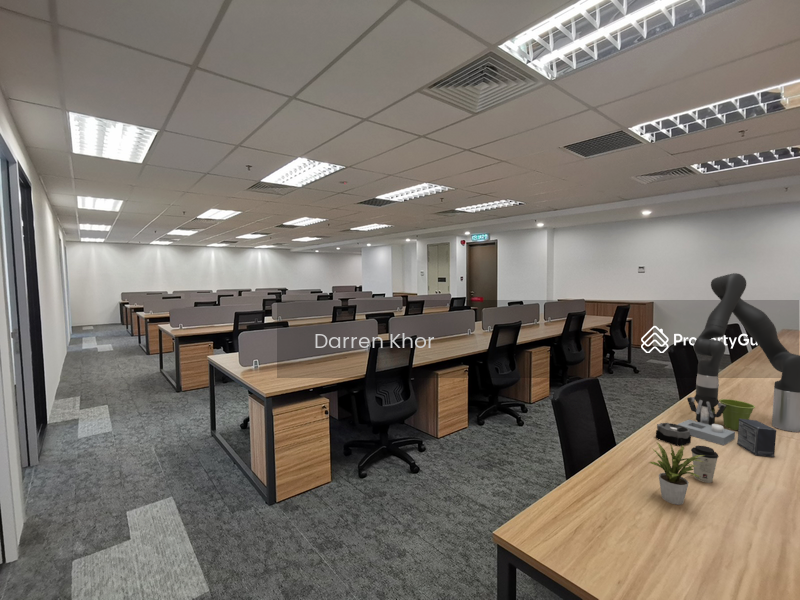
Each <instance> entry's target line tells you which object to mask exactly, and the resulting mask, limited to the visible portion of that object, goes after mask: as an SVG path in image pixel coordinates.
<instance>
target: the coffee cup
mask: <svg viewBox="0 0 800 600" xmlns="http://www.w3.org/2000/svg"><path fill="white" fill-rule="evenodd" d="M690 451H691V454H692V455H691V457H693V456H697V455H705V456H699V457H697V458H701V459H695V460H700V461H703V462H700V461H692V465H695V466H694V467H692V469H694V470H693V473H695V474H696V475H699V478H698V477H697V476H695V475H693V477H694V479H695V480H697V481H699V482H703V483H709V484H710V483H713V480H714V476H715V475H714V474H715V471H716V467H717V462H718V458H719V455H718V453H717V452H716V451H715V449H714V448H712V447H710V446H707V445H696V446H694V447H692V448H691V450H690ZM700 476H701V477H700Z"/></svg>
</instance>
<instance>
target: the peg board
mask: <svg viewBox="0 0 800 600" xmlns="http://www.w3.org/2000/svg"><path fill="white" fill-rule="evenodd" d="M676 424H677V425H680V426H684V427H686V428H687V429H689V430H690V435H691V437H693V438H697V439H699V440H703V441H707V442H710V443H714V444H717V445H721V446H725V445H727V444H729V443H730V442H732V441H734V440H735V439H736V437H735V436H736V431H735V430H731V429H728V428H724V425H721V424H718V423H714V424H712V425H708V424H704V423H700V422H697V421H696V420H693V419H687V420H684V421H682V422H679V423H676Z"/></svg>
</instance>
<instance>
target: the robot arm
mask: <svg viewBox="0 0 800 600" xmlns="http://www.w3.org/2000/svg"><path fill="white" fill-rule="evenodd" d="M710 287H711V290H712V292H713V293H714V295H716V296H717V298H718V299H719V300H720V302H718V304H717V305H716V306H715V308H714V309H712V311H711V312H710V313H709V315H708V318H707V320H706V323H705V327H704V329H703V331H702V332H701V333H700V334H699V335H698V337H697V338H696V339H695V341H694V343H693V350H694V352H695V353H696V354H697V355H700V356H701V355H702V356H709V357H711V358H710V359H709V360H706V359H705V360H700V361H698V364H697V373H696V375H697V376H696V382H695V383H696V384H695V396H694V397H692V396H689V397H687V399H686V400H687V402H688V403H687V404H688V406H689V409H690V410H691V411H692V412H694V413H695V421H697V422H700V410H701V406H705V407H708V411H709V413H710V417H709V425H712V424H716V423H715V421H716V418H720V417H721V416H723V411H724V410H725V408H726V405H723V404H721V403H720V402H719V388H720V382H719V372H720V371H719V367H720V364H721V361H722V359H723V357H724V354H725V352H726V345H725V344H724V342H723V341H721V340H715V338H716V339H717V338H722V337H723V336H725V333H726V330H727V327H728V326H729V321H730V319H731V317H732V314H733V315H734V316H735V317H736V319H737V320H738V321H739V322H740V324H741V326H743V328H744V329H745V330H746V332H747V333H748V334H749V335H750V336H751V338H752V339H753V340H754V341H755V342H756V344H757V345H758V346H759V347H760V349H761V350H762V352H763V353H764V355H765V357H766V358H767V360H768V361H769V363H770V364H771V366H772V367H773V369H775V370H776V371H778V372H780V373H781V378H780V380H775V382H774V385H773V387H774V388H773V401H772V403H773V404H772V417H771V426H772V427H773V428H774V429H779V430H782V431H787V432H791V431H792V432H791V433H800V354H799V355H798V354H795V353H791V352H790V351H789V350H788V349H786V348H785V346H784V345H783V344H782V343H781V341H780V340H779V337H778V333H777V329H776V325H775V324H774V322H773V321H772V320H771V318H769V316H768V315H767V314H766V313H765V312H764V311H762V309H759V308H757V307H756V306H754V305H752V304H751V303H748V302H746V300H743V299H742V296H743V294H744V292H745V290H746V288H747V280H746V278H745V276H744V275H742V274H740V273H736V272H734V273H728V274H724V275H721V276H717V277H715V278H713V279H712V280H711V281H710ZM695 402H696V403H697V406H696V404H695ZM716 406H717V408H718V410H717V412H716V408H715V407H716Z"/></svg>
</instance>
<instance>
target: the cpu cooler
mask: <svg viewBox="0 0 800 600" xmlns="http://www.w3.org/2000/svg"><path fill="white" fill-rule="evenodd" d="M656 424H657V425H656V426H657V427H656V430H655V438H656V439H657V440H659V439H660V440H659V441H662V442H664V441H665V443H668V444H671V445H672V446H679V447H681V446H683V447H684V446H685V445H688V444H691V443H692V442H691V441H692V436H691V435H690V430H689V429H687V428H686V427H684V426H680V425H677V424H678V423H671V422H660V423H656Z"/></svg>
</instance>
